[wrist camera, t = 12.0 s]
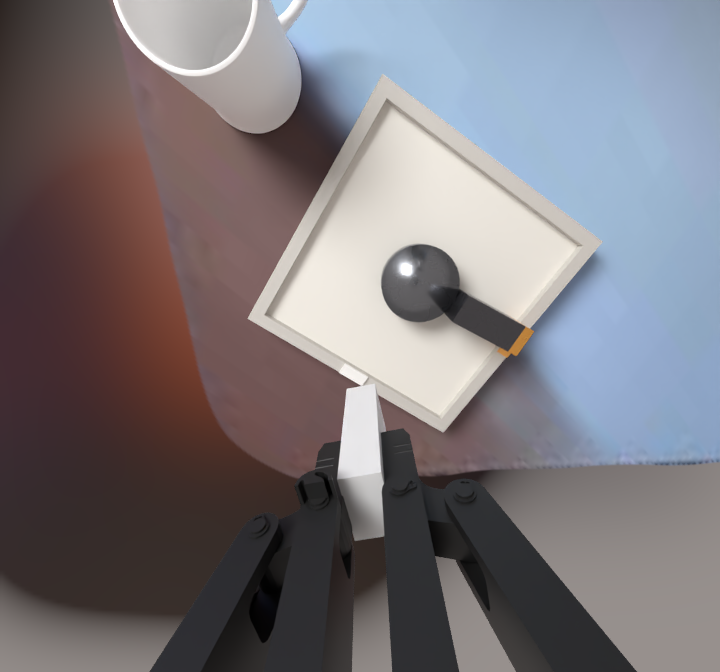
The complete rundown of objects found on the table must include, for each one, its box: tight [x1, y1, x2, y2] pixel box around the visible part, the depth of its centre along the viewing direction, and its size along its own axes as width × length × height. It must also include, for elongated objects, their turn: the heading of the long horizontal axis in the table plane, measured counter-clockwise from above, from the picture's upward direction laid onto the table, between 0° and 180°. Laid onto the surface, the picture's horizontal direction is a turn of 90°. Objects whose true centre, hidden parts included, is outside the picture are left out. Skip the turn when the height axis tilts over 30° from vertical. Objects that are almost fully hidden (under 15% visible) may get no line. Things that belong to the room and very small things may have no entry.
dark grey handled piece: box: [381, 244, 534, 356], centre depth 31 cm, size 14×7×4 cm, turn 62°
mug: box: [113, 0, 308, 134], centre depth 24 cm, size 12×8×12 cm
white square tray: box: [248, 74, 602, 432], centre depth 33 cm, size 24×24×3 cm
